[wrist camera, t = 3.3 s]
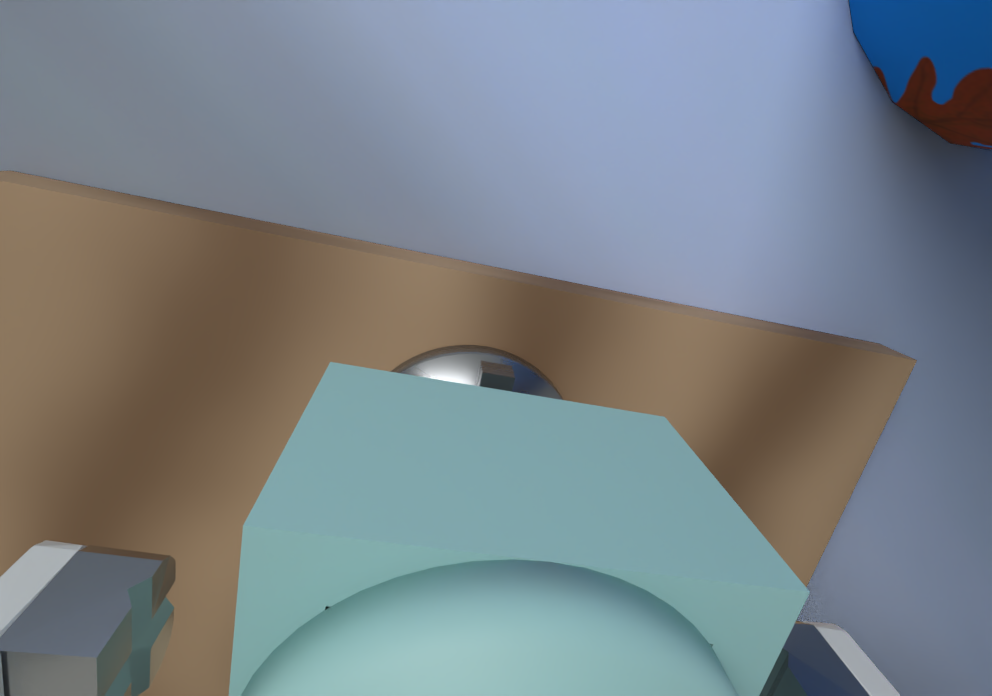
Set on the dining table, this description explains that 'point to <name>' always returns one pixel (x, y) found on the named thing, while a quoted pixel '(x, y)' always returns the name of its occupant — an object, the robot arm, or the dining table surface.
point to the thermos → (933, 61)
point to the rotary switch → (498, 553)
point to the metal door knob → (480, 369)
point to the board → (359, 342)
